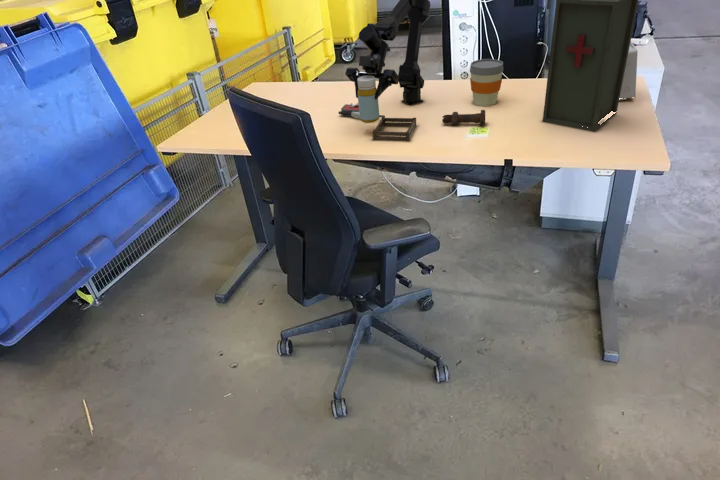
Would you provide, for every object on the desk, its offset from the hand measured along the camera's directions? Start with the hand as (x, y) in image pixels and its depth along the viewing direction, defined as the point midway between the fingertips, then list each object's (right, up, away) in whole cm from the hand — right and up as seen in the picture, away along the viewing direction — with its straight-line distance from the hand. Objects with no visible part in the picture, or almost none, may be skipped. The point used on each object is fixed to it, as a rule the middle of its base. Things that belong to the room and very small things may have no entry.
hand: (366, 98), depth 180 cm
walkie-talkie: (0, -1, +23) cm, 24 cm away
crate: (+11, -11, +6) cm, 16 cm away
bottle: (+2, -6, +6) cm, 9 cm away
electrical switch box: (+93, +6, +18) cm, 95 cm away
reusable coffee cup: (+47, +5, +24) cm, 54 cm away
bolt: (+36, -8, +7) cm, 37 cm away
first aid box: (+76, -6, +3) cm, 76 cm away
